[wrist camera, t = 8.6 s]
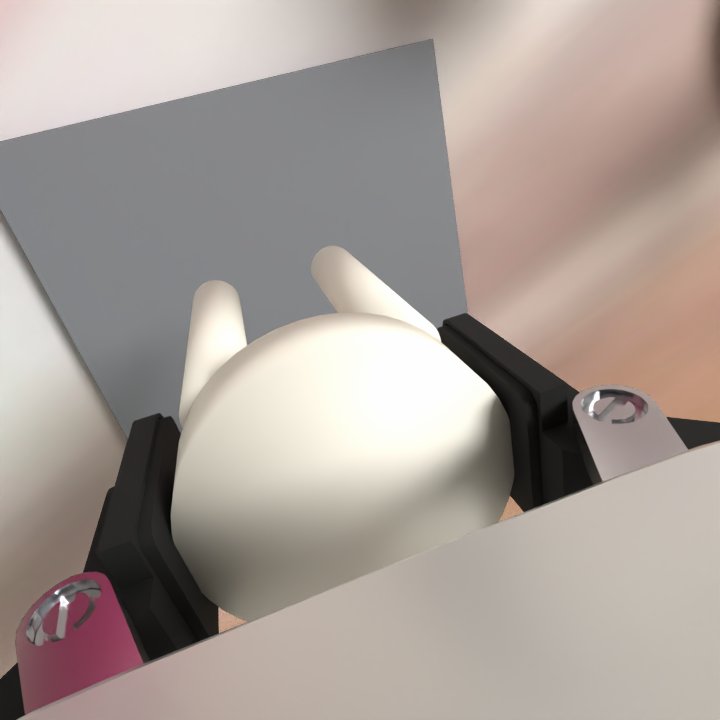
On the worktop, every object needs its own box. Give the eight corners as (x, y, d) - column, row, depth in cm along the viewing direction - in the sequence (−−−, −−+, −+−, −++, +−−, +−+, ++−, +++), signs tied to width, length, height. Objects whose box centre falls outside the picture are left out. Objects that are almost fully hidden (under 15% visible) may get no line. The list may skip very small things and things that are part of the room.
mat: (427, 41, 20) (432, 38, 20) (470, 369, 28) (475, 373, 27) (-26, 148, 18) (-33, 149, 17) (153, 477, 25) (152, 484, 25)
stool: (361, 216, 15) (501, 291, 8) (398, 386, 18) (525, 559, 11) (158, 274, 14) (98, 422, 7) (231, 443, 17) (244, 674, 10)
